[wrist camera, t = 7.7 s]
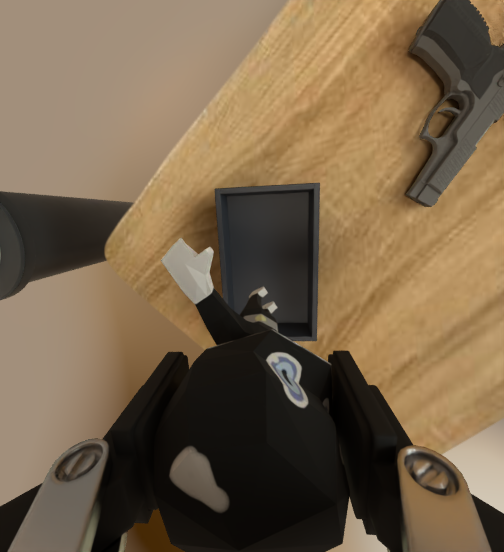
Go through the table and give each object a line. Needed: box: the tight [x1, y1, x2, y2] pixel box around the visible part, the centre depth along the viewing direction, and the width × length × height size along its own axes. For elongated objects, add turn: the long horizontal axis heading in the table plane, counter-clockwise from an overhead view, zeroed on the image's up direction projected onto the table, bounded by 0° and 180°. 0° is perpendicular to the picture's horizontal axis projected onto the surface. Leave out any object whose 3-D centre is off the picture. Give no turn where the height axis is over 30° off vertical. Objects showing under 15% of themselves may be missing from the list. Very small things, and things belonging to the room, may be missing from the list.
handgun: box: [406, 0, 504, 207], centre depth 26 cm, size 3×16×12 cm
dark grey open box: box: [215, 183, 320, 341], centre depth 31 cm, size 11×18×4 cm, turn 3°
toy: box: [154, 238, 350, 552], centre depth 12 cm, size 13×6×15 cm, turn 33°
